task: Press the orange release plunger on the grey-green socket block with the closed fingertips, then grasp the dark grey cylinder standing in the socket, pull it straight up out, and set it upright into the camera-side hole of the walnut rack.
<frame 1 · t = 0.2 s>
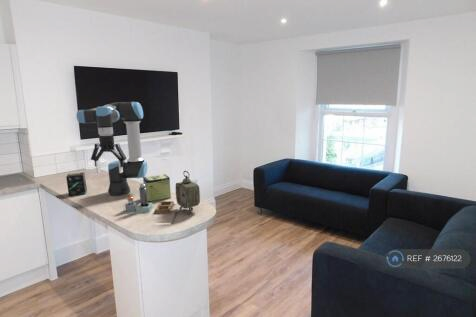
hand: (110, 172, 179), 27 cm above the worktop, fingers open, 13 cm apart
tampon box: (78, 193, 231), on the worktop
protein box: (157, 199, 214), on the worktop
release plunger: (130, 201, 191), point 7 cm above the worktop, slide at 0.0 cm
socket block: (139, 211, 193), on the worktop
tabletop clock: (189, 211, 192), on the worktop
dark grey cylinder: (144, 209, 192), point 1 cm above the worktop, touching socket block
rack: (164, 210, 194), on the worktop
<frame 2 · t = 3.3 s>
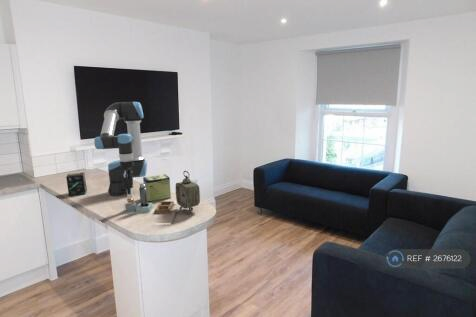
hand: (130, 198, 191), 8 cm above the worktop, fingers closed
release plunger: (130, 202, 191), point 6 cm above the worktop, slide at 1.1 cm, touching gripper
everything else where it was.
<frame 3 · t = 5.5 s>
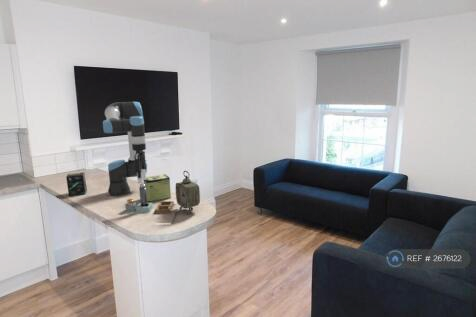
hand: (142, 181, 189), 19 cm above the worktop, fingers open, 7 cm apart
release plunger: (130, 204, 191), point 5 cm above the worktop, slide at 1.9 cm
everything else where it was.
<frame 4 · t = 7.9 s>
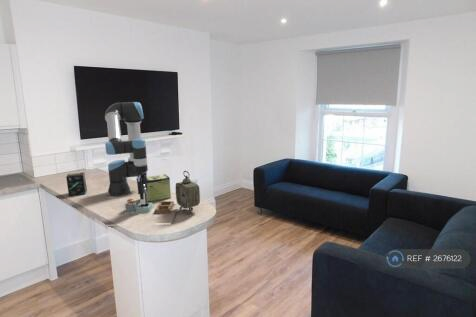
hand: (144, 202, 191), 6 cm above the worktop, fingers closed on dark grey cylinder, 4 cm apart
dark grey cylinder: (144, 209, 192), point 1 cm above the worktop, touching gripper, socket block
everything else where it was.
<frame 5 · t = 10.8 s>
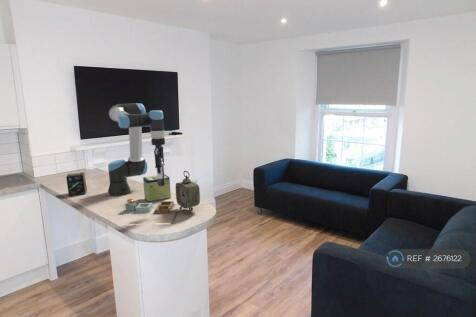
hand: (160, 177, 185), 22 cm above the worktop, fingers closed on dark grey cylinder, 4 cm apart
dark grey cylinder: (161, 185, 186), point 17 cm above the worktop, touching gripper
everything else where it was.
when the fingers open (7 cm above the worktop, at t = 13.6 s): dark grey cylinder drops 1 cm, resting on rack.
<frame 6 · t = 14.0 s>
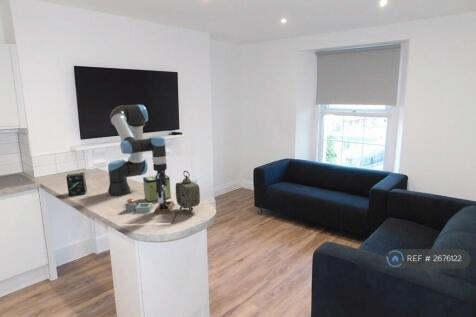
hand: (162, 199, 188), 8 cm above the worktop, fingers open, 9 cm apart
dark grey cylinder: (163, 211, 190), point 1 cm above the worktop, touching rack
everything else where it was.
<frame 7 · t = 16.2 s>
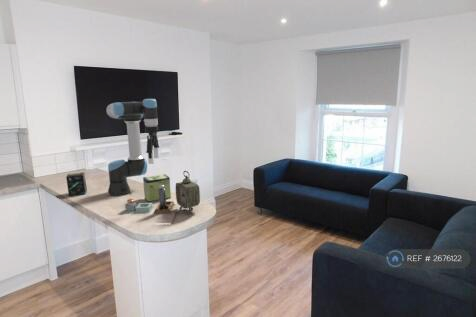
hand: (153, 160, 191), 30 cm above the worktop, fingers open, 13 cm apart
nothing on the worktop moved.
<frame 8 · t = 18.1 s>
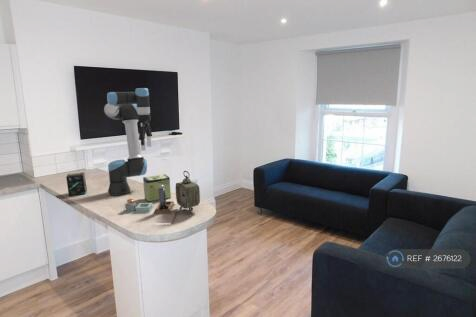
hand: (146, 148, 197), 37 cm above the worktop, fingers open, 13 cm apart
nothing on the worktop moved.
at the end: dark grey cylinder 0.1 cm from the target spot on the rack, point 1.0 cm above the rack's base; dark grey cylinder tilted 1°; release plunger slide at 1.9 cm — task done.
